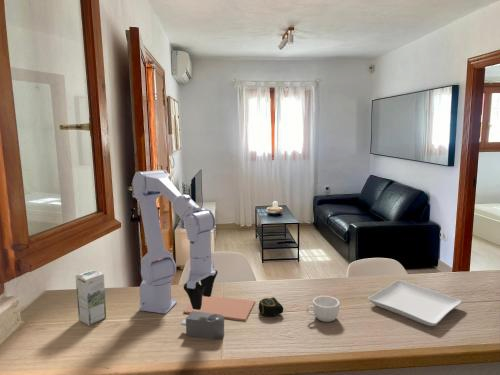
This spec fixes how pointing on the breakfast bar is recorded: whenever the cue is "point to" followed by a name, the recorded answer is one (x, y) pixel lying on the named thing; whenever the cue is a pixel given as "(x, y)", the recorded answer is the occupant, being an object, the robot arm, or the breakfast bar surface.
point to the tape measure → (270, 307)
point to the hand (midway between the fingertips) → (202, 302)
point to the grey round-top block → (204, 325)
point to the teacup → (325, 308)
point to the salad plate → (414, 302)
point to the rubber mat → (225, 307)
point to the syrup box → (91, 297)
